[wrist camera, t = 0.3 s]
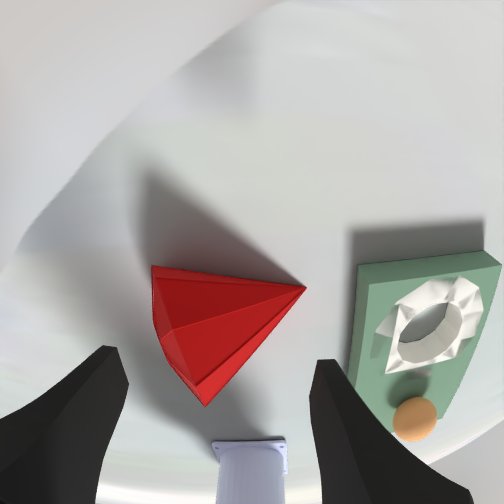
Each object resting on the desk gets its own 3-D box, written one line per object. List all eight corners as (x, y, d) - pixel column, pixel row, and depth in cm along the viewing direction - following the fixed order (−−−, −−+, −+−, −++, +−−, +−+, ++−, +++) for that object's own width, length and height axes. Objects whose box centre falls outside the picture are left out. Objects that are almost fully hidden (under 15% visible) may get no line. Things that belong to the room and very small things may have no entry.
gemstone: (313, 201, 16) (126, 258, 13) (365, 351, 16) (194, 432, 13) (264, 237, 25) (142, 277, 22) (300, 339, 24) (183, 387, 21)
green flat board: (434, 401, 26) (442, 418, 24) (339, 422, 27) (343, 441, 24) (484, 250, 19) (502, 264, 16) (357, 264, 19) (369, 284, 17)
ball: (421, 410, 23) (434, 442, 19) (383, 419, 23) (393, 454, 19) (433, 383, 21) (449, 417, 17) (392, 393, 21) (406, 430, 18)
